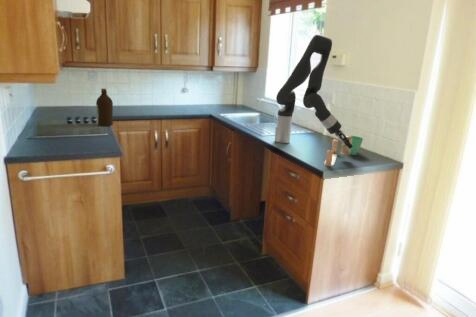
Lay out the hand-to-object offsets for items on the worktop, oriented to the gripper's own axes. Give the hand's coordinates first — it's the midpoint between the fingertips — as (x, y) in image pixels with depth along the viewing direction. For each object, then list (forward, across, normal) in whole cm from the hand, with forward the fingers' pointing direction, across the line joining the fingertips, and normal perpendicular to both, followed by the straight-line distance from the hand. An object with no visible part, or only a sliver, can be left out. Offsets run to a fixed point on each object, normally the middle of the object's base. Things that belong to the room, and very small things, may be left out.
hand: (349, 146), depth 199 cm
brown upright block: (+2, 0, +5) cm, 5 cm away
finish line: (0, +2, +12) cm, 12 cm away
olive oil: (-103, +56, +115) cm, 164 cm away
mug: (+11, +18, 0) cm, 21 cm away
